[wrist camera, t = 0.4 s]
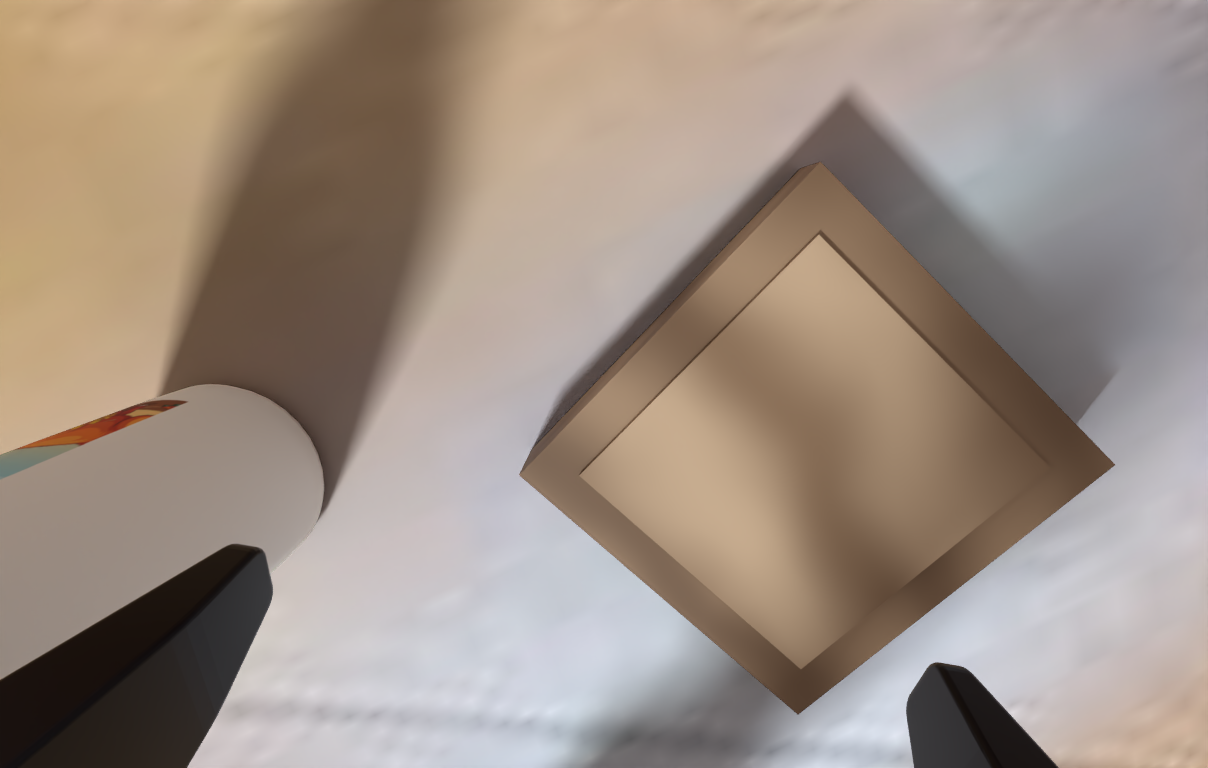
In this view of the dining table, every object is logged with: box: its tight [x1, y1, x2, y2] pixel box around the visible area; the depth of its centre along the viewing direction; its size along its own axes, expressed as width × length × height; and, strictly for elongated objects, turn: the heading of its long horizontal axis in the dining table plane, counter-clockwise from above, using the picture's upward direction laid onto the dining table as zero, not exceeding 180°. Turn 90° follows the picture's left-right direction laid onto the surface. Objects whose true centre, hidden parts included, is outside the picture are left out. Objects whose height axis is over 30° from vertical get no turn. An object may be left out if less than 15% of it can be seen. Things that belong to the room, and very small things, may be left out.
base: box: [519, 162, 1115, 714], centre depth 22 cm, size 14×14×3 cm
